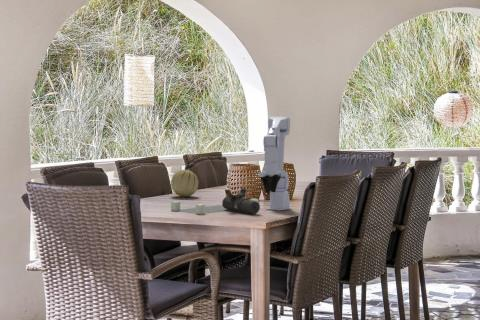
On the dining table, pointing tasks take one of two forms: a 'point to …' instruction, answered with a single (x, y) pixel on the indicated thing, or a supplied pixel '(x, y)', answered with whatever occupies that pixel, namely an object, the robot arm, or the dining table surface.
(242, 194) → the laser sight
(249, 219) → the dining table surface
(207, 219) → the dining table surface
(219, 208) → the bay
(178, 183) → the cantaloupe
